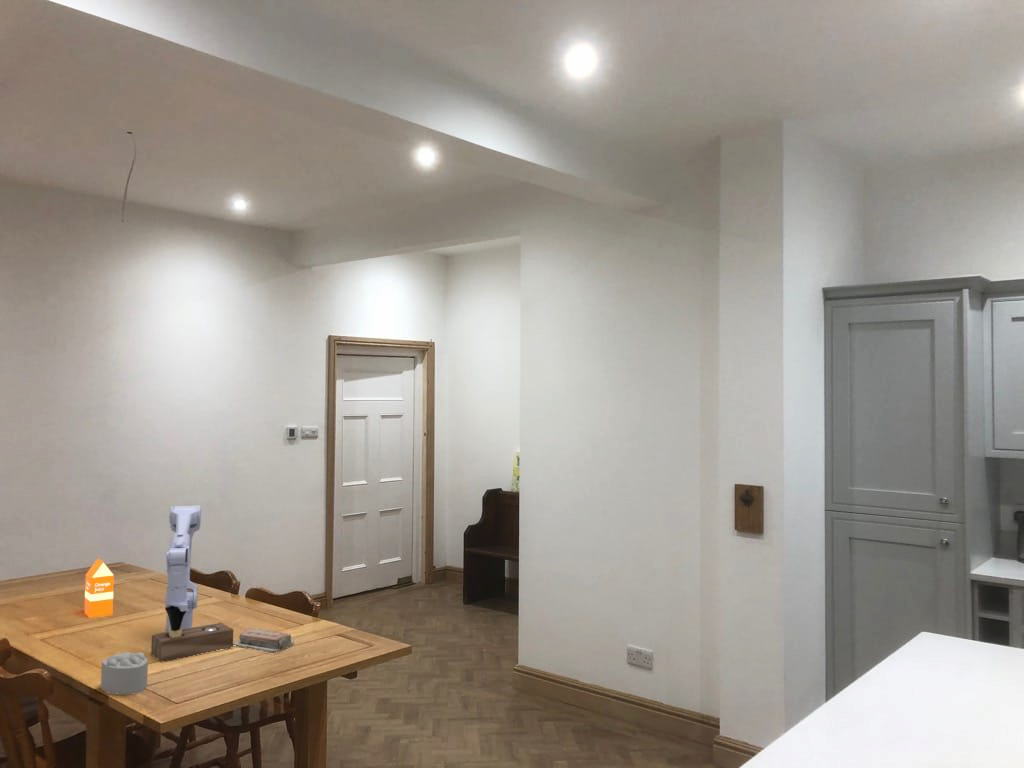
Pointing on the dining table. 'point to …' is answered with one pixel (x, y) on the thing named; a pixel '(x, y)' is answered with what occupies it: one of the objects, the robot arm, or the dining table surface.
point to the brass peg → (175, 633)
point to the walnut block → (191, 642)
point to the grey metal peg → (210, 629)
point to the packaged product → (264, 640)
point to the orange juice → (99, 590)
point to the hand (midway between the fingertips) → (175, 629)
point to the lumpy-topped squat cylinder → (124, 673)
